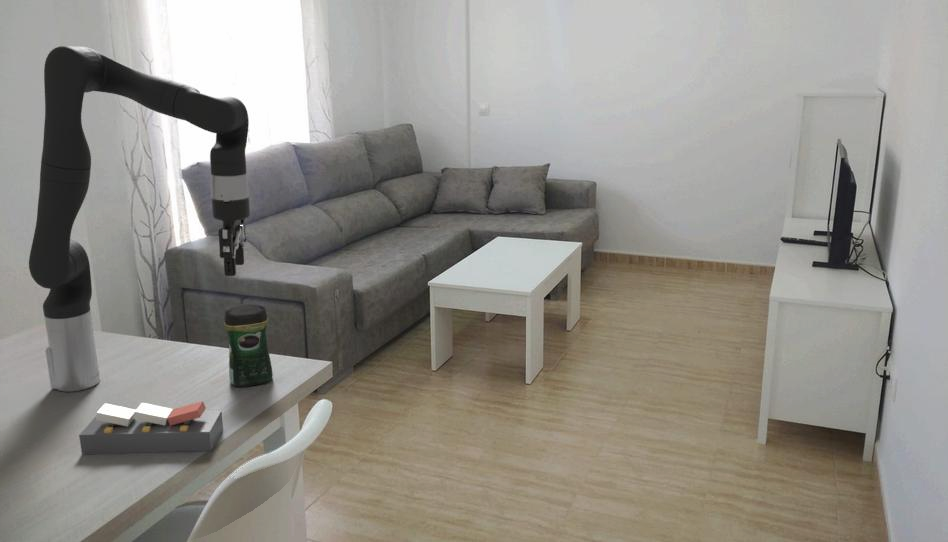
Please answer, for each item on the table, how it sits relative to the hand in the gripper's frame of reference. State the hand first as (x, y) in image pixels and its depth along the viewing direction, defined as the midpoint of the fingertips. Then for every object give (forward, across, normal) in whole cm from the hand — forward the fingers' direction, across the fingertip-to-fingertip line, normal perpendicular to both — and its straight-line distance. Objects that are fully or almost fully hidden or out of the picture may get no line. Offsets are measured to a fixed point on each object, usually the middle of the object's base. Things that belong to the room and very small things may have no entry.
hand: (234, 269), depth 167 cm
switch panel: (+28, +23, -12) cm, 38 cm away
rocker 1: (+24, +22, -19) cm, 38 cm away
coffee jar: (+28, -6, +1) cm, 29 cm away
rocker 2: (+24, +23, -12) cm, 35 cm away
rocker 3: (+24, +23, -5) cm, 33 cm away
